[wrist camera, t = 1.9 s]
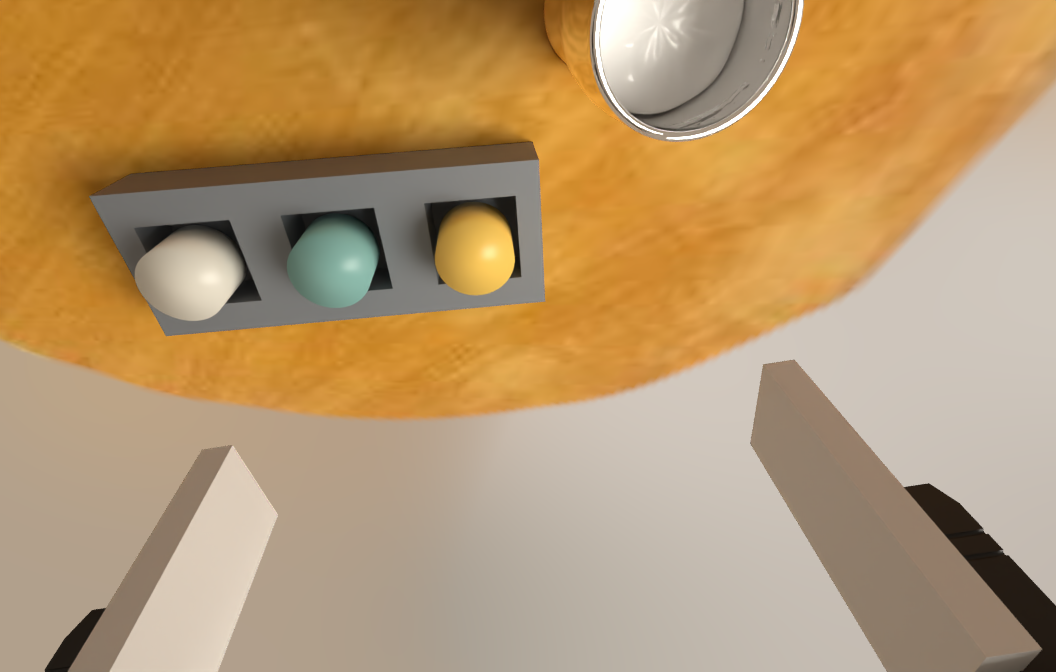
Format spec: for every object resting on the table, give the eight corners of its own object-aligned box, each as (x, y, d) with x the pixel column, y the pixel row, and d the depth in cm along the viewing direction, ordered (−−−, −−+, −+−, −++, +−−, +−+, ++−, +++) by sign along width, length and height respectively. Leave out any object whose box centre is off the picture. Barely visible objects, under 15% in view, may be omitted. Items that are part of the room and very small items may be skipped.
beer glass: (626, 100, 31) (728, 177, 18) (517, 54, 29) (547, 104, 16) (686, -34, 27) (862, -53, 15) (565, -97, 25) (651, -179, 13)
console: (194, 303, 36) (166, 336, 32) (130, 173, 30) (89, 196, 27) (538, 273, 36) (545, 301, 33) (532, 141, 31) (538, 159, 28)
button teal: (316, 283, 32) (300, 311, 29) (293, 216, 30) (275, 239, 27) (387, 277, 32) (378, 304, 29) (370, 210, 30) (359, 232, 27)
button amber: (444, 272, 32) (441, 298, 30) (433, 204, 30) (428, 226, 27) (513, 266, 32) (517, 291, 30) (508, 198, 30) (511, 219, 27)
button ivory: (185, 295, 32) (157, 324, 29) (151, 228, 29) (118, 252, 26) (257, 289, 32) (237, 317, 29) (230, 221, 29) (205, 245, 27)
